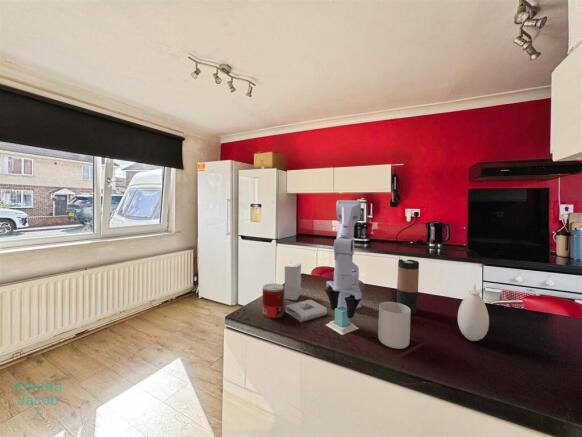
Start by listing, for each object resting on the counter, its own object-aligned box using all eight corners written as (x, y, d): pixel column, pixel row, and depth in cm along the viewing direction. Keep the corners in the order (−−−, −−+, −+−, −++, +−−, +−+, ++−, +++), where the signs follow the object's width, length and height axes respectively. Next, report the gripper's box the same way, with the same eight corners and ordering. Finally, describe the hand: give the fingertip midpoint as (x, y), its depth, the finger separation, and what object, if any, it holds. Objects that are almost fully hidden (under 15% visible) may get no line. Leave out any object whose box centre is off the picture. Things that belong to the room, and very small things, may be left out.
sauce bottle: (451, 332, 84) (454, 279, 83) (475, 333, 84) (478, 280, 83) (467, 345, 76) (470, 287, 75) (493, 346, 76) (497, 287, 75)
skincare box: (297, 300, 110) (297, 267, 109) (283, 299, 111) (284, 266, 110) (301, 294, 118) (301, 262, 117) (288, 293, 119) (289, 261, 118)
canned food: (280, 320, 90) (281, 290, 90) (259, 318, 92) (259, 288, 91) (285, 312, 98) (285, 284, 97) (265, 310, 100) (266, 282, 99)
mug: (411, 353, 72) (413, 315, 71) (378, 348, 74) (379, 311, 73) (405, 333, 83) (406, 300, 82) (376, 329, 86) (378, 297, 85)
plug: (341, 323, 88) (342, 306, 88) (349, 327, 85) (349, 309, 85) (334, 325, 86) (334, 308, 86) (341, 329, 83) (342, 312, 83)
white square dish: (341, 320, 91) (342, 316, 91) (358, 330, 85) (359, 325, 85) (325, 326, 87) (325, 321, 87) (341, 336, 80) (341, 331, 80)
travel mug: (412, 316, 96) (414, 264, 95) (392, 309, 102) (394, 260, 101) (420, 310, 101) (422, 261, 100) (401, 304, 107) (403, 258, 106)
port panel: (310, 306, 104) (310, 299, 103) (326, 315, 95) (326, 307, 95) (285, 313, 97) (285, 305, 97) (300, 323, 89) (300, 315, 88)
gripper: (320, 270, 89) (319, 308, 89) (351, 281, 76) (349, 324, 77) (335, 267, 92) (334, 304, 93) (366, 277, 80) (365, 319, 81)
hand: (342, 313), depth 85 cm, fingers open, 7 cm apart
